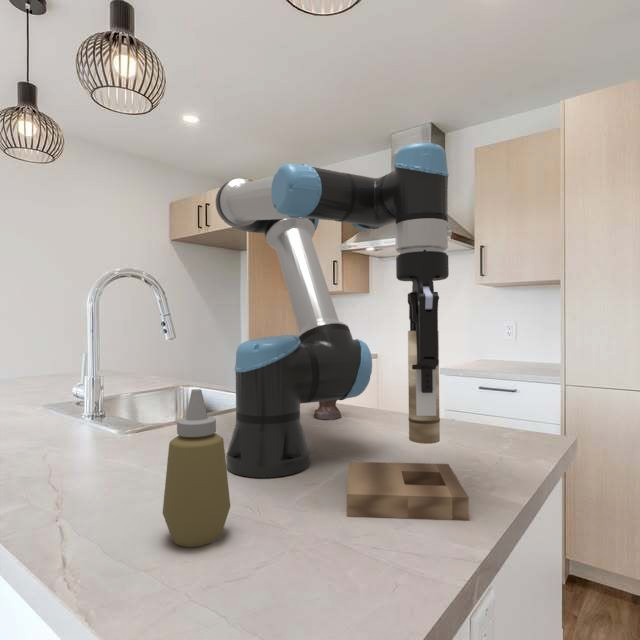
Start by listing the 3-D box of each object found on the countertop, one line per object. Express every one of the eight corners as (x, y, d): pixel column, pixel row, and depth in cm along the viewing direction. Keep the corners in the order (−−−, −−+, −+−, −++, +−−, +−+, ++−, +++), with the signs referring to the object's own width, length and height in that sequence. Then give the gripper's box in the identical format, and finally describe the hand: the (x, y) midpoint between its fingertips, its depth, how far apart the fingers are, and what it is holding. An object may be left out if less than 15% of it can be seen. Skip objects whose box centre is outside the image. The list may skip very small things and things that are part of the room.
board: (346, 516, 62) (346, 493, 62) (349, 479, 76) (349, 461, 76) (468, 520, 60) (468, 497, 60) (448, 482, 74) (448, 463, 74)
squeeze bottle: (235, 521, 60) (234, 384, 60) (224, 552, 52) (223, 395, 52) (173, 522, 60) (172, 385, 60) (153, 554, 52) (152, 395, 52)
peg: (410, 443, 65) (409, 331, 66) (407, 435, 70) (406, 330, 70) (442, 444, 65) (441, 331, 65) (437, 436, 70) (436, 330, 70)
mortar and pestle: (296, 415, 126) (296, 343, 126) (317, 411, 132) (317, 341, 132) (329, 422, 118) (328, 344, 118) (349, 416, 125) (349, 343, 125)
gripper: (460, 242, 59) (462, 425, 59) (438, 260, 76) (439, 401, 76) (401, 243, 59) (403, 424, 59) (392, 261, 77) (393, 401, 77)
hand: (423, 411), depth 68 cm, fingers closed on peg, 4 cm apart
